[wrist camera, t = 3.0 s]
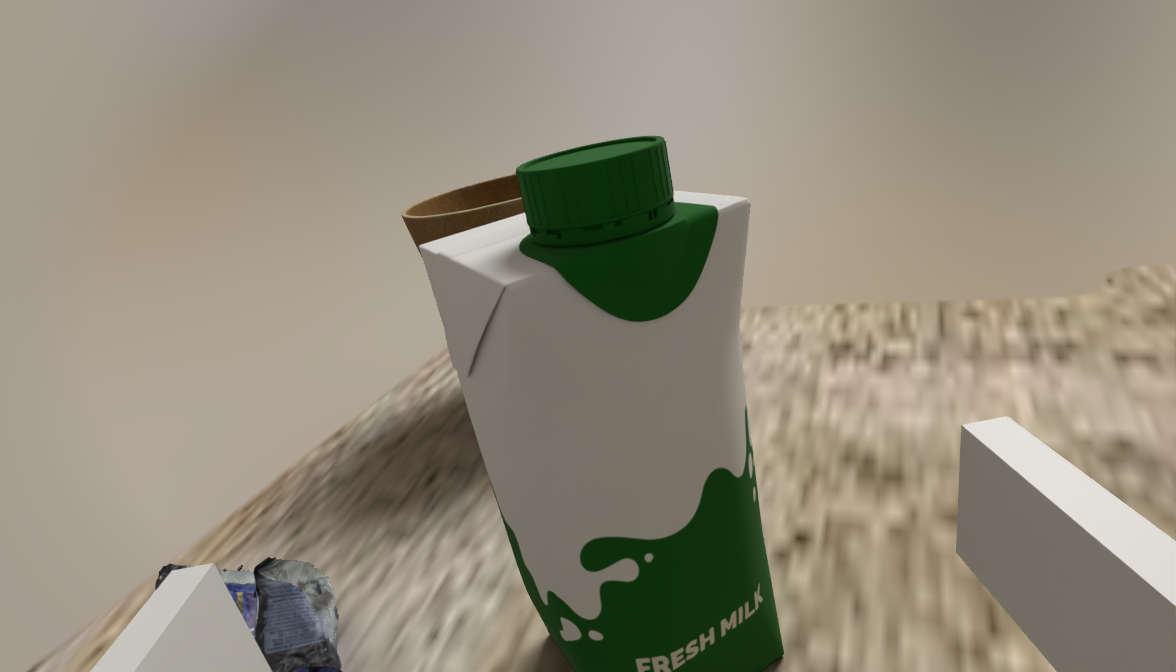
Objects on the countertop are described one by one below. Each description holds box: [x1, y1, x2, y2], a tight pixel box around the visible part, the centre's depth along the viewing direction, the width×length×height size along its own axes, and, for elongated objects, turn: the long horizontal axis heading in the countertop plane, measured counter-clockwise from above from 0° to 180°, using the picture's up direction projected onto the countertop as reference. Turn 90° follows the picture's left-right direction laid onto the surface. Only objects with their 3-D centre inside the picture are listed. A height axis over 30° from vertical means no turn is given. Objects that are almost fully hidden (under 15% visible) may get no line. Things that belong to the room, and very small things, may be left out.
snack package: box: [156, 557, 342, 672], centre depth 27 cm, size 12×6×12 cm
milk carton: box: [419, 136, 784, 672], centre depth 22 cm, size 9×9×20 cm
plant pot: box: [401, 174, 525, 256], centre depth 47 cm, size 15×15×16 cm
